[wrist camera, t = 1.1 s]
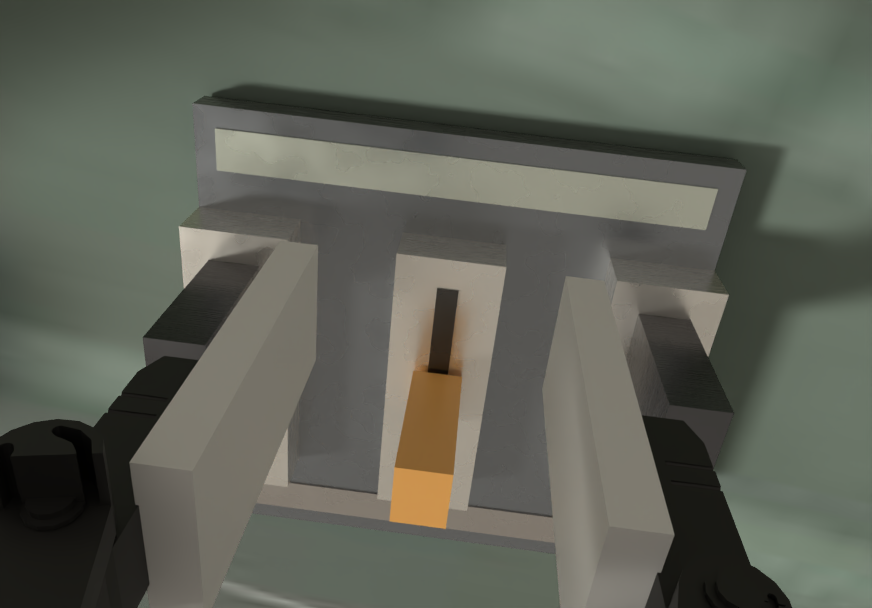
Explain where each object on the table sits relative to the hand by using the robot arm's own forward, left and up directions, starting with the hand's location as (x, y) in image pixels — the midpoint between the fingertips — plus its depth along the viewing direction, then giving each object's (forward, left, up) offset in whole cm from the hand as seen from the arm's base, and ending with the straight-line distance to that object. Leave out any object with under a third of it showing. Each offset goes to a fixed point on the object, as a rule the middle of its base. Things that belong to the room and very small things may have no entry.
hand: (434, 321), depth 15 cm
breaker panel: (0, -14, -21) cm, 25 cm away
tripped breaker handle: (0, -14, -16) cm, 22 cm away
